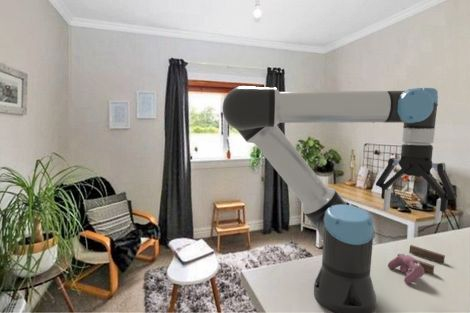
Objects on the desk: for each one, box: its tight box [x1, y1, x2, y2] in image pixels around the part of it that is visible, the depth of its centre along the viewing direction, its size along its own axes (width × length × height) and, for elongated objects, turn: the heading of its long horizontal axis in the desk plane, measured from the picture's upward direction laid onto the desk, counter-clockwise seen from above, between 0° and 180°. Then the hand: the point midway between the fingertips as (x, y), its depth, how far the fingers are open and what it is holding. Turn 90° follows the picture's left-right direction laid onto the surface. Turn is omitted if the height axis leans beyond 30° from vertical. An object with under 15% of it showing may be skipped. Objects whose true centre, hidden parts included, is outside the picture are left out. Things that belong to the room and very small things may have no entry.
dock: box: [397, 244, 446, 275], centre depth 93 cm, size 12×10×2 cm
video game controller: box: [387, 253, 425, 284], centre depth 85 cm, size 10×5×7 cm, turn 2°
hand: (410, 215), depth 83 cm, fingers open, 13 cm apart
